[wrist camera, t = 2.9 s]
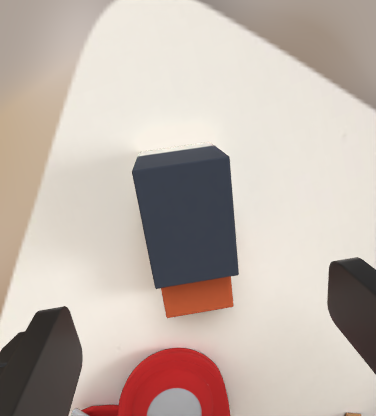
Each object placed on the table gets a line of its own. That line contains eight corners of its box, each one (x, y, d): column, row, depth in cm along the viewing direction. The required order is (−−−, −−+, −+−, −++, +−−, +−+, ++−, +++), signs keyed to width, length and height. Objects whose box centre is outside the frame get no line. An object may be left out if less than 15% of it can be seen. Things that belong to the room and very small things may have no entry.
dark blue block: (138, 151, 17) (131, 170, 12) (210, 141, 17) (229, 156, 12) (164, 288, 20) (166, 344, 16) (223, 278, 20) (243, 330, 16)
